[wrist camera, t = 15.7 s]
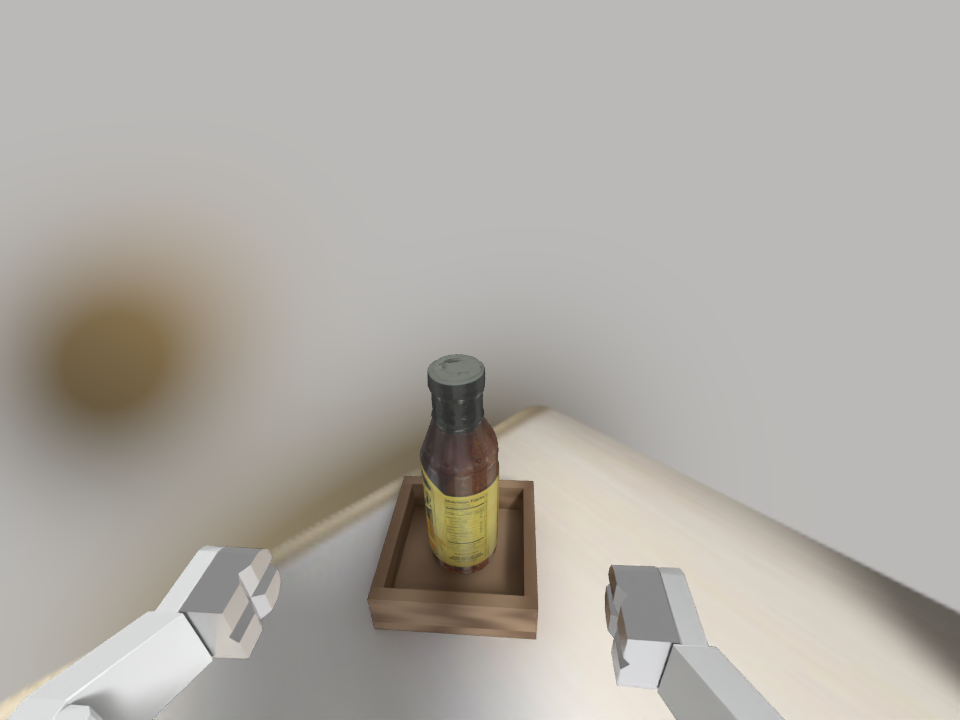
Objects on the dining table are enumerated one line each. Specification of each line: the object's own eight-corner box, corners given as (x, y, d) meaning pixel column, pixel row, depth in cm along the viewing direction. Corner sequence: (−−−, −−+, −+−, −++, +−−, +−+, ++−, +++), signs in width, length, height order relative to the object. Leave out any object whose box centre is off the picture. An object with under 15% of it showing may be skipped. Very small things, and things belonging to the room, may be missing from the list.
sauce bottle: (442, 515, 45) (430, 338, 35) (504, 528, 43) (509, 347, 34) (418, 573, 39) (397, 381, 29) (488, 590, 38) (489, 395, 28)
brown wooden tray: (531, 509, 47) (533, 481, 45) (535, 639, 35) (538, 609, 33) (408, 503, 48) (404, 476, 46) (374, 628, 36) (367, 599, 34)
